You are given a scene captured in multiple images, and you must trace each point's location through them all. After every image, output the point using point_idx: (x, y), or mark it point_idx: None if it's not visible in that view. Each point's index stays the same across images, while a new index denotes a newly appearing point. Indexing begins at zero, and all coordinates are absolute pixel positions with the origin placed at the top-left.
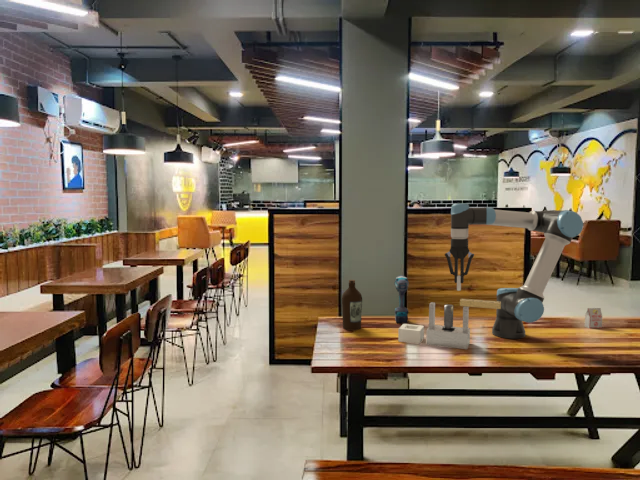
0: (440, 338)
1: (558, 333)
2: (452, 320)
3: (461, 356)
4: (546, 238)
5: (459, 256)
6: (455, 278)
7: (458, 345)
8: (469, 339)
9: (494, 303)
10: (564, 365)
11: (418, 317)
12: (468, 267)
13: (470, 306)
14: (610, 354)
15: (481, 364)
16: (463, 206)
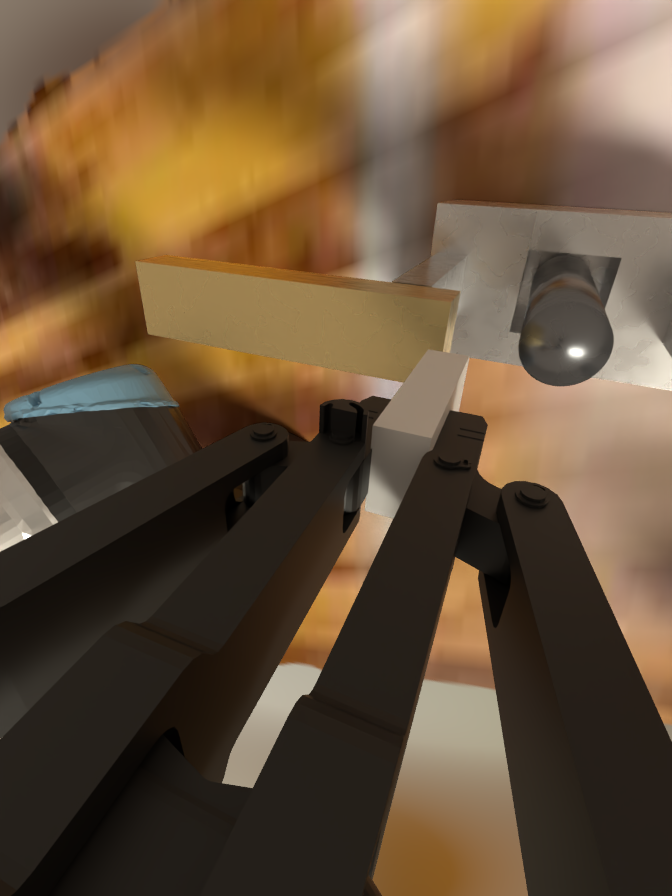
0: (628, 212)
1: None
2: (532, 295)
3: (503, 15)
4: None
5: (128, 868)
6: (464, 444)
7: (504, 203)
8: None
9: (175, 264)
10: (75, 103)
11: (662, 714)
12: (148, 487)
13: (368, 280)
14: (11, 312)
15: None
16: None
